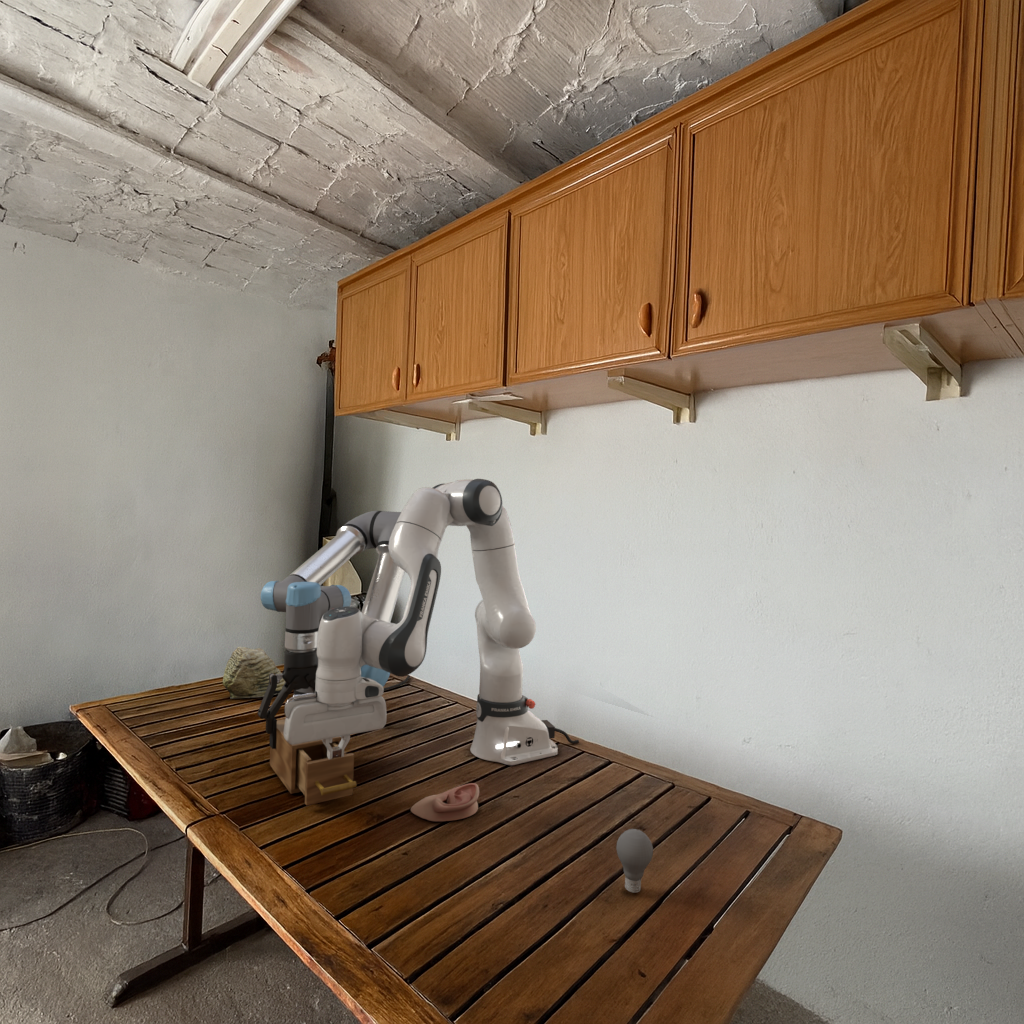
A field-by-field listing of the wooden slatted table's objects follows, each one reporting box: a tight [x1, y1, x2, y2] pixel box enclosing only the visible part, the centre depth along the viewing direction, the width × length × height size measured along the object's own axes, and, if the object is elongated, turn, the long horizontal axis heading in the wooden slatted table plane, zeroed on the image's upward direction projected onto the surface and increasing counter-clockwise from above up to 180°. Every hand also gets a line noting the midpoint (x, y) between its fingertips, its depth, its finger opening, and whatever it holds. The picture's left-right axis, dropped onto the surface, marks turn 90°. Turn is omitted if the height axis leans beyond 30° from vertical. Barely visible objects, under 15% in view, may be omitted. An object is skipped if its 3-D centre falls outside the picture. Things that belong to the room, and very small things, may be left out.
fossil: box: [222, 646, 285, 699], centre depth 198 cm, size 9×18×15 cm, turn 132°
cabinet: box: [269, 718, 342, 795], centre depth 144 cm, size 18×11×10 cm, turn 35°
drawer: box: [295, 742, 357, 807], centre depth 134 cm, size 22×10×8 cm, turn 35°
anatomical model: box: [410, 782, 480, 822], centre depth 131 cm, size 13×4×12 cm
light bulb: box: [615, 828, 654, 894], centre depth 106 cm, size 6×6×10 cm
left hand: (298, 742), depth 148 cm, fingers closed on cabinet, 11 cm apart
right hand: (335, 757), depth 127 cm, fingers closed
